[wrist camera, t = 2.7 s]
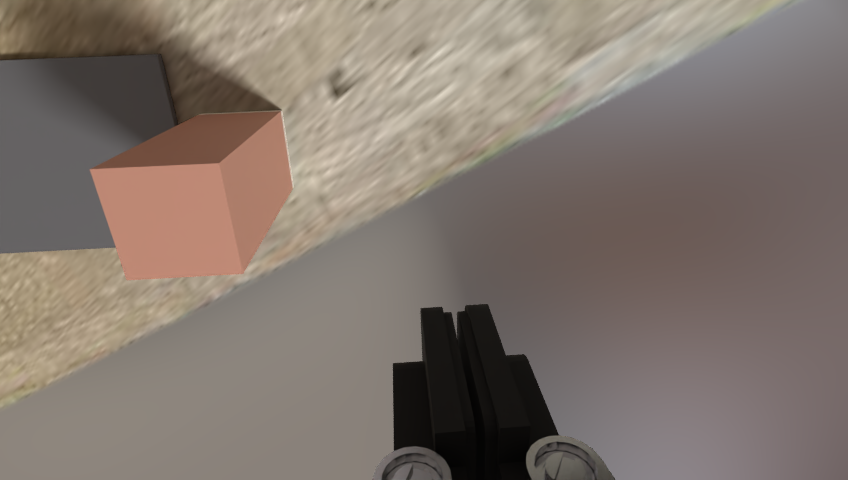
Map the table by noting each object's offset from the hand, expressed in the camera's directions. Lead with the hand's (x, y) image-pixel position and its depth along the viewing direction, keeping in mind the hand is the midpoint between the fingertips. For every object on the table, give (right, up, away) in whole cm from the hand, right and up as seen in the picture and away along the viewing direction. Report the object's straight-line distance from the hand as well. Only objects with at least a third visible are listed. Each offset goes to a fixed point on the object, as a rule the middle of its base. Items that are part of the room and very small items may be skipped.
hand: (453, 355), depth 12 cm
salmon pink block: (-12, +9, +19) cm, 24 cm away
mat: (-24, +8, +18) cm, 31 cm away
